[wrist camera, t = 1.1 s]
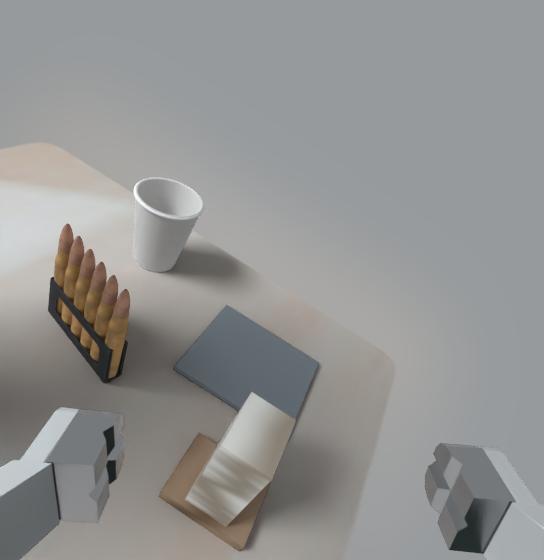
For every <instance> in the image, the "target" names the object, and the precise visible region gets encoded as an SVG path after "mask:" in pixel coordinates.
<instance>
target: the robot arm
mask: <svg viewBox="0 0 544 560" xmlns="http://www.w3.org/2000/svg"><path fill="white" fill-rule="evenodd" d="M123 427H124V416H123V415H122V414H119V413H110V412H102V411H93V410H85V409H73V408H64V407H61V408H59V409H58V410H56V411H55V412H54V413H53V415H52V416H51V418H50V419H49V420H48V422H47V423H46V425H45V426H44V427H43V429H42V430H41V432H40V433H39V434H38V436H37V437H36V438H35V440H34V441H33V443H32V444H31V445H30V447H29V448H28V450H27V451H26V452H25V454H24V455H23V456H22V458H21V459H20V460H12V461H10V462H9V463H7V464H5V465H4V466H2V467H0V560H20V559H21V558H22V557H23V556H24V555H25V554H26V553H28V552H29V551H30V550H31V549H32V548H33V547H34V546H35V545H36V544H37V543H39V542H40V541H41V540H42V539H43V538H44V537H45V536H46V535H47V534H48V533H50V532H51V531H52V530H53V529H54V528H55V527H56V526H57V525H58V524H59V523H60V522H59V521H73V522H94V523H98V522H99V519H100V517H101V514H102V512H103V510H104V507H105V505H106V503H107V500H108V498H109V484H111V483H112V482H113V481H115V480H116V479H117V476H118V474H119V471H120V469H121V465H122V461H123V457H124V450H125V439H124V438H123V437H122V436H121V432H122V430H123ZM434 456H435V458H436V461H435V462H434V463H433V464H431V465H430V466H428V469H427V472H426V475H425V489H426V494H427V497H428V500H429V502H430V505H431V506H432V507H433V508H434V509H435V510H436V511H437V512H438V513H439V514H440V517H439V520H438V525H439V527H440V530H441V532H442V534H443V537H444V539H445V542H446V544H447V546H448V549H449V550H454V551H464V552H474V553H483V554H484V555H483V556H484V557H485V558H486V559H487V560H544V505H539V504H538V502H537V501H536V500H535V498H534V497H533V495H532V494H531V492H530V491H529V489H528V488H527V487H526V485H525V484H524V482H523V481H522V479H521V478H520V476H519V475H518V474H517V472H516V471H515V469H514V468H513V466H512V465H511V463H510V462H509V460H508V459H507V458H506V456H505V455H504V453H503V452H502V451H501V450H499V449H498V448H493V447H481V446H478V447H476V446H468V445H456V444H443V443H440V444H439V445H438V446H437V447H436V449H435V451H434Z"/></svg>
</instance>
